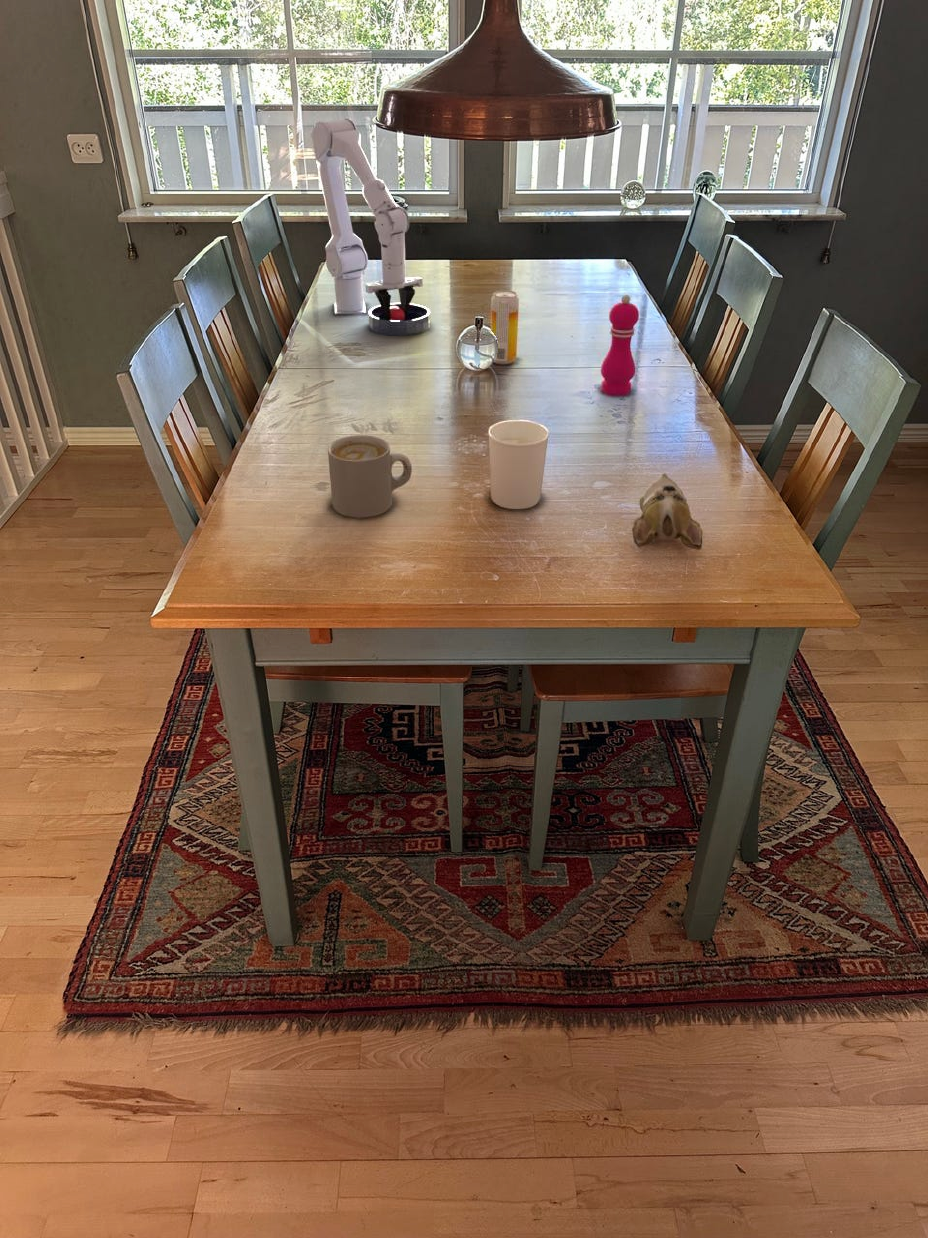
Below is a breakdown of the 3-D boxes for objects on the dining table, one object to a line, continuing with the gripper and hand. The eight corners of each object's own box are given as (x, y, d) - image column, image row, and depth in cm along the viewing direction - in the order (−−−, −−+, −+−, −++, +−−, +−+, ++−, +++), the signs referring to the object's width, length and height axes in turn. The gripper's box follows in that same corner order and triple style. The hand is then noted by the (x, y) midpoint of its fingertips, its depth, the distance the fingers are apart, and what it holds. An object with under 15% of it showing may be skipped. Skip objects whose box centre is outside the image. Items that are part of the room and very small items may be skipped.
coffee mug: (331, 518, 145) (326, 462, 139) (333, 490, 153) (328, 435, 147) (414, 515, 146) (413, 459, 140) (411, 487, 154) (409, 433, 148)
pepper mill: (631, 398, 188) (643, 301, 176) (597, 395, 189) (606, 298, 178) (633, 385, 194) (645, 291, 182) (600, 383, 195) (609, 288, 183)
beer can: (516, 356, 208) (519, 290, 200) (515, 365, 203) (518, 298, 195) (490, 355, 209) (492, 289, 200) (488, 364, 204) (490, 296, 195)
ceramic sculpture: (699, 465, 142) (712, 516, 130) (691, 512, 147) (702, 564, 135) (632, 462, 142) (638, 513, 131) (626, 509, 148) (631, 561, 136)
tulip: (384, 320, 228) (383, 304, 225) (398, 318, 229) (397, 302, 227) (401, 333, 220) (400, 316, 217) (416, 331, 221) (415, 314, 219)
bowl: (368, 319, 230) (367, 303, 228) (427, 317, 232) (426, 302, 229) (370, 338, 218) (370, 322, 215) (432, 336, 219) (432, 320, 217)
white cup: (509, 479, 157) (512, 414, 150) (555, 496, 152) (560, 430, 145) (474, 499, 150) (475, 432, 144) (521, 518, 145) (525, 449, 139)
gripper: (372, 269, 212) (375, 327, 220) (427, 262, 218) (428, 319, 225) (361, 262, 217) (364, 319, 225) (415, 256, 223) (416, 311, 231)
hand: (395, 318), depth 226 cm, fingers closed on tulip, 4 cm apart
